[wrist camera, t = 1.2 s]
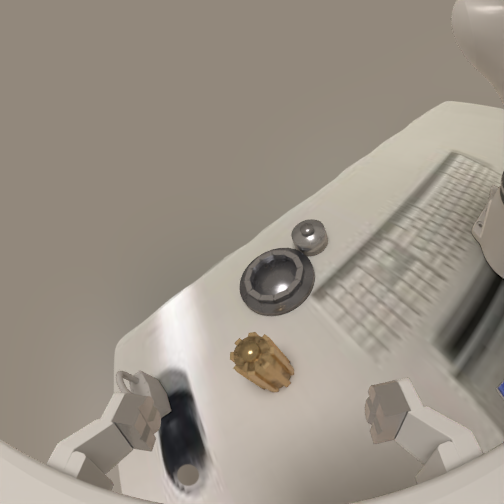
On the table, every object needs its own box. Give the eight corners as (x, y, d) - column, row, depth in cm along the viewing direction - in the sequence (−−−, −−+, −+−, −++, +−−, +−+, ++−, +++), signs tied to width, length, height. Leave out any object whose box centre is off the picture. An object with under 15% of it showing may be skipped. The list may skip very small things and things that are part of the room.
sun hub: (309, 226, 54) (303, 211, 51) (334, 237, 50) (330, 221, 47) (289, 248, 52) (283, 234, 50) (314, 260, 48) (309, 246, 46)
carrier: (275, 242, 55) (271, 234, 53) (330, 269, 46) (327, 261, 44) (228, 292, 51) (222, 285, 50) (279, 330, 42) (274, 323, 41)
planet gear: (275, 349, 41) (249, 320, 34) (301, 370, 37) (280, 345, 30) (250, 376, 39) (217, 353, 32) (275, 399, 35) (247, 382, 28)
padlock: (174, 409, 39) (132, 393, 33) (157, 421, 39) (114, 406, 32) (160, 377, 44) (121, 356, 38) (144, 388, 44) (104, 368, 37)
